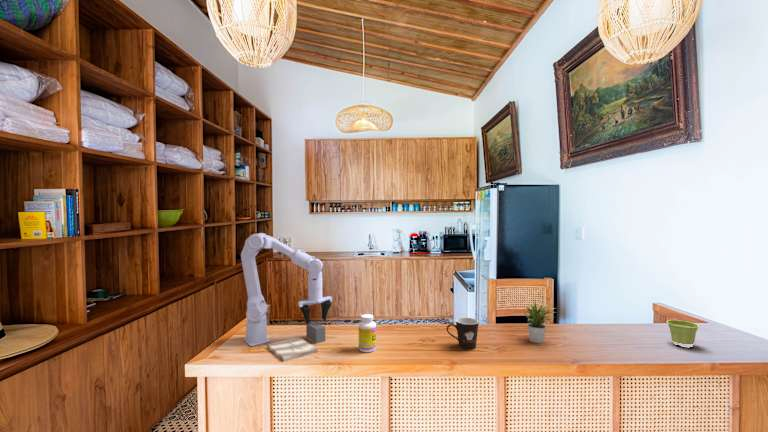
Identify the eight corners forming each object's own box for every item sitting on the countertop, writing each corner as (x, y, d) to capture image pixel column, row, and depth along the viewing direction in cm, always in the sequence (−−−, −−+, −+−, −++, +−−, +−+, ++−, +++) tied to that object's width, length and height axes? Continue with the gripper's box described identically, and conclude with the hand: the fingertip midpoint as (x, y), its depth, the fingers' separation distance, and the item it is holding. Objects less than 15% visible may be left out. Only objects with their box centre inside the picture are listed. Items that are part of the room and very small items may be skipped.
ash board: (267, 347, 132) (267, 344, 132) (299, 339, 140) (299, 336, 140) (283, 361, 119) (283, 357, 119) (317, 351, 127) (317, 348, 127)
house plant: (546, 351, 126) (546, 308, 126) (511, 341, 137) (511, 301, 137) (562, 342, 136) (561, 301, 136) (528, 333, 146) (528, 295, 146)
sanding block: (306, 337, 142) (306, 323, 142) (315, 335, 145) (315, 321, 145) (316, 344, 135) (316, 329, 135) (325, 341, 138) (325, 327, 138)
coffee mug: (480, 344, 134) (480, 319, 134) (476, 352, 126) (476, 325, 126) (451, 340, 139) (451, 315, 139) (445, 347, 131) (445, 321, 131)
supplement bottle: (373, 353, 126) (373, 318, 126) (356, 352, 127) (356, 317, 127) (377, 346, 132) (377, 313, 132) (361, 345, 133) (361, 312, 133)
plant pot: (672, 348, 129) (672, 325, 129) (662, 339, 138) (662, 318, 137) (704, 352, 125) (704, 328, 125) (692, 343, 134) (692, 321, 134)
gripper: (303, 292, 132) (303, 327, 132) (335, 287, 141) (336, 320, 142) (295, 289, 138) (296, 323, 138) (327, 285, 147) (327, 316, 147)
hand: (315, 321), depth 140 cm, fingers open, 7 cm apart
